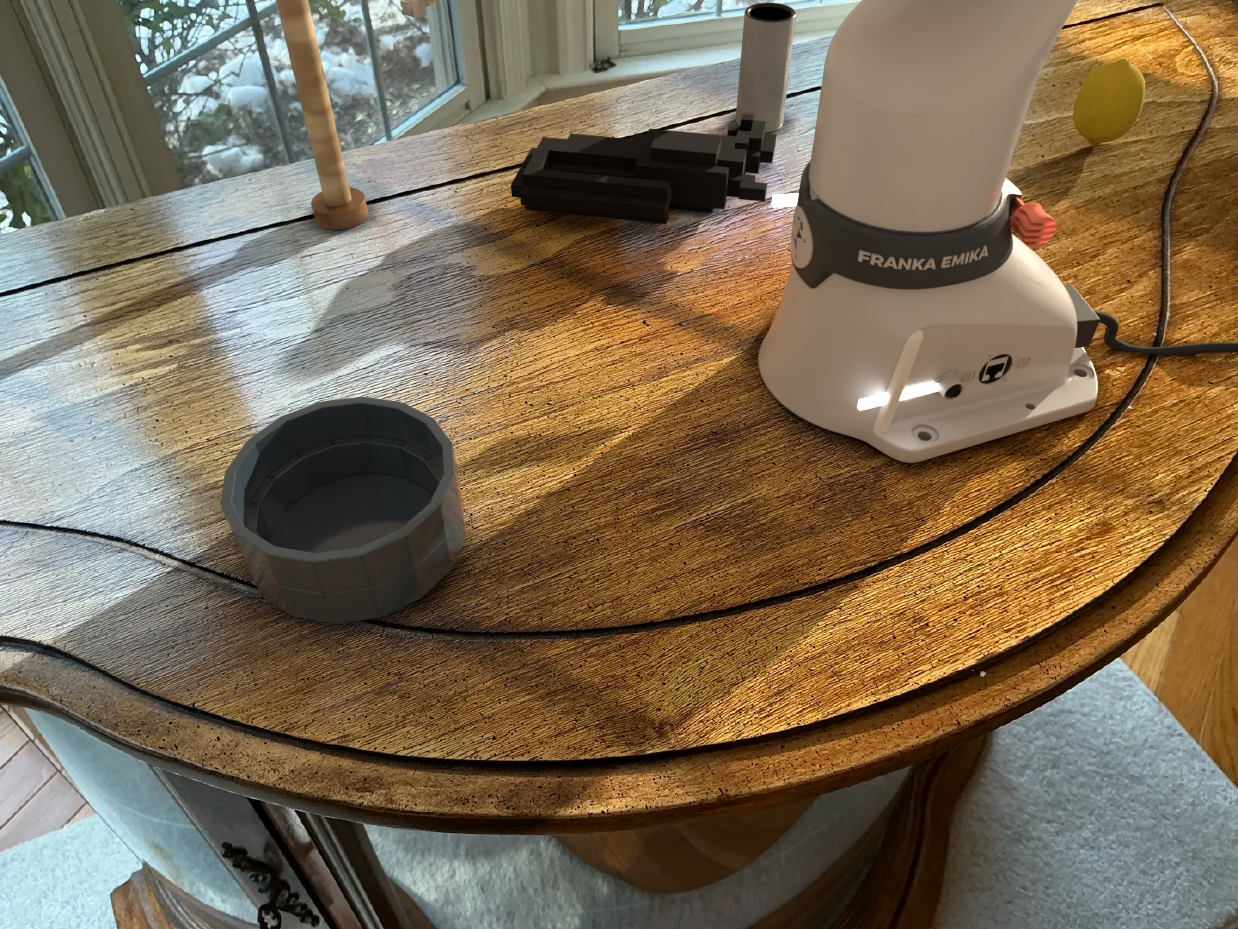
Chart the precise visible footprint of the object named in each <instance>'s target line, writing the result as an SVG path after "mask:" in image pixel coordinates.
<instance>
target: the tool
mask: <svg viewBox="0 0 1238 929" xmlns="http://www.w3.org/2000/svg"><path fill="white" fill-rule="evenodd" d="M754 116H755V115H751V114H742V117H741V125H737V124H728V126H727V127H728V128H727V133H726V134H727V135H725V134H714V133H703V132H693V131H692V132H691V131H682V130H671V129H670V130H669V129H660V128H659V129H658V128H649V129H648V131H647V133H638V132H637V133H636V132H634V134H633V136H632V138H626V137H614V136H603V135H593V134H583V133H572V132H571V133H570V134H569V135H568V137H567V138H558V137H549V136H542V137H541V139H540V141H539V143H538V145H537V147H530V150H529V151H528V153H527V155H526V156H525V158H524V160H523V162H522V164H521V165H520V167H519V169H518V170H517V173H516V174H515V176H514V178H513V180H512V182H511V184H510V193H511V198H517V199H519V198H520V200H519V201H520V206H524V209H525V211H533V212H542V213H550V214H551V213H552V214H560V215H571V216H580V217H589V218H598V219H609V220H610V219H611V220H617V221H619V220H620V221H627V222H637V223H646V224H647V223H648V224H657V225H664V226H666V225H667V224H668V221H669V218H670V210H680V211H689V212H698V213H699V212H701V213H708V214H713V212H714V210H725V209H726V204H727V197H731V198H737V199H738V200H744V201H754V202H763V203H764V202H766V197H767V190H768V183H767V182H759V181H756V176H757V175H754V174H758V175H759V174H760V173H759V172H760V168H761V164H762V163H763V164H773V161H774V156H775V151H776V144H777V136H778V134H777V133H769V132H767V133H765V129H766V127H765V123H766V121H755V120H754Z"/></svg>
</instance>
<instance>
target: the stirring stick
mask: <svg viewBox="0 0 1238 929" xmlns="http://www.w3.org/2000/svg"><path fill="white" fill-rule="evenodd" d="M275 3H276V7H277V11H278V12H277V13H278V15H279V19H280V24H281V28H282V32H283V36H284V41H285V44H286V48H287V53H288V56H289V57H288V58H289V61H290V65H291V69H292V73H293V77H294V81H295V85H296V90H297V95H298V98H299V102H300V107H301V110H302V115H303V118H304V123H305V127H306V131H307V134H308V135H307V136H308V139H309V143H310V148H311V151H312V152H311V153H312V156H313V159H314V164H315V169H316V172H317V177H318V180H319V186H320V190H321V191H320V192H318V193H317V194H316V195H314V196H313V198H312V199H311V202H310V205H311V209H312V213H313V217H314V221H315V224H317V226H319V227H321V228H323V229H326V230H333V231H340V230H347V229H351V228H354V227H357V226H358V225H361V224H362V223H364V221H366V219H367V218H368V216H369V209H368V204H367V198H366V196H365V193H364V192H363V191H362V190H361V189H359V188H356V187H353V186H352V187H351V186H350V184H349V180H348V176H347V171H346V166H345V162H344V158H343V153H342V148H341V144H340V140H339V135H338V130H337V126H336V121H335V116H334V112H333V107H332V104H331V103H332V102H331V98H330V93H329V89H328V85H327V84H328V83H327V81H326V75H325V71H324V67H323V62H322V57H321V52H320V48H319V44H318V39H317V34H316V30H315V26H314V22H313V16H312V12H311V7H310V2H309V0H275Z"/></svg>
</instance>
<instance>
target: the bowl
mask: <svg viewBox="0 0 1238 929" xmlns="http://www.w3.org/2000/svg"><path fill="white" fill-rule="evenodd" d="M220 507H221V509H222V512H223V514H224V516H225V519H226V521H227V524H228V525H229V528H230V530H231V533H232V534H233V537H234V539H235V542H236V544H237V546H238V549H239V551H240V553H241V555H242V558H243V561H244V563H245V566H246V567H247V569H248V571H249V573H250V576H251V578H252V579H253V583H254V584H255V587H256V589H257V590H258V594H259V595H261V597H263V598H265V599H266V600H267V601H268V602H270V603H271V604H273V605H274V606H276V607H277V608H279V609H280V610H282V611H283V612H285V613H286V614H287V615H289V616H292V617H295V618H300V619H306V620H310V621H311V620H312V621H315V622H321V623H322V622H323V623H327V624H334V625H338V624H344V623H355V622H363V621H368V620H372V619H373V620H374V619H379V618H382V617H384V616H386V615H389V614H391V613H394V612H396V611H399V610H401V609H403V608H404V607H406V606H408V605H410V604H412V603H414V602H416V601H418V600H420V599H422V598H423V597H424V596H426V594H427V593H428V592H429V591H430V590H432V589H433V588H434V586H436V585H437V584H438V583H439V582H440V581H441V580H442V579H443V578H445V576H446V575H448V573H449V572H451V570H452V569H453V567H454V565H455V562H456V560H457V558H458V556H459V553H460V551H461V548H462V546H463V544H464V542H465V540H466V538H467V537H466V536H467V533H466V522H465V521H466V520H465V509H464V502H463V496H462V490H461V485H460V479H459V473H458V467H457V461H456V456H455V450H454V444H453V442H452V441H451V439H450V438H449V437H448V435H447V434H446V432H445V431H444V430H443V429H442V427H441V426H440V424H439V423H438V422H437V421H436V419H435V418H434V417H433V416H430V415H428V414H426V413H424V412H423V411H421V410H419V409H416V408H414V407H413V406H411V405H409V404H407V403H405V402H401V401H396V400H389V399H383V398H377V397H370V396H357V397H348V398H347V397H346V398H339V399H329V400H322V401H319V402H316V403H313V404H310V405H308V406H305V407H302V408H300V409H297V410H293V411H292V412H288V413H286V414H284V415H283V414H282V415H281V416H279V417H277V418H276V419H275V420H274V421H272V422H271V423H270V424H268V425H267V426H265V427H264V428H262V429H261V430H260V431H258V432H256V433H255V434H253V435H252V436H251V437H250V438H248V439H247V440H246V441H245V443H244V444H243V445H242V447H241V448H240V450H239V451H238V453H237V454H236V455H235V457H234V458H233V459H232V461H231V462H230V464H229V465H228V467H227V468H226V469H225V470H224V476H223V483H222V490H221V496H220Z"/></svg>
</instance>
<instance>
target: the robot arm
mask: <svg viewBox="0 0 1238 929" xmlns="http://www.w3.org/2000/svg"><path fill="white" fill-rule="evenodd" d="M438 1H440V0H399V3H400V7H401V14H402V15H403V16H407V17H411V18H412V17H413V18H415V19H419V20H420V19H422V17H423V15H424V13H425V11H426V9H427V7H430V6H431V5H433V4H436V3H437V2H438ZM1078 1H1079V0H860V1H859V2H858V3H857V4H856V5H855V6H854V8H853V9H852V10H851V11H850V12H849V13H848V14H847V15H846V17H844V20H842V22H841V24H840V25H839V26H838V28H837V29H836V31H835V33H834V35H833V37H832V38H831V41H830V44H829V46H828V49H827V53H826V56H825V58H824V59H825V60H824V65H823V72H822V79H821V85H820V86H821V87H820V94H819V101H818V108H817V114H816V120H815V122H816V123H815V129H814V135H813V141H812V142H813V143H812V150H811V156H810V160H809V161H808V162H807V163H806V165H805V167H804V168H803V170H802V173H801V178H800V183H799V190H798V193H785V194H782V193H781V194H772V199H771V207H772V208H784V207H794V211H793V216H792V225H791V234H790V258H791V259H790V260H791V265H790V270H789V274H788V276H787V281H786V284H785V287H784V289H783V290H784V291H783V294H782V297H781V299H780V302H779V306H778V308H777V310H776V314H775V316H774V318H773V321H772V323H771V324H770V327H769V329H768V331H767V333H766V334H765V337H764V339H763V340H762V342H761V344H760V347H759V351H758V356H757V357H758V358H757V361H758V371H759V373H760V376H761V378H762V381H763V383H764V385H765V387H766V388H767V390H769V392H770V393H771V395H772V396H773V397H774V398H775V399H776V400H777V401H778V402H779V403H780V404H782V406H784V407H785V408H786V409H787V410H789V411H790V412H792V414H795V416H798V417H799V418H801V419H803V420H805V421H806V422H809V423H810V424H812V425H815V426H817V427H819V428H822V429H825V430H827V431H830V432H834V433H837V434H841V435H844V436H848V437H850V438H854V439H856V440H857V439H858V440H860V441H862V442H865V443H867V444H869V445H870V446H872V447H873V448H875V449H876V450H878V451H880V452H881V453H883V454H884V455H886V456H888V457H890V458H892V459H893V460H896V461H898V462H901V463H907V464H916V463H919V462H924V461H927V460H930V459H934V458H937V457H940V456H944V455H946V454H947V455H948V454H950V453H954V452H957V451H960V450H964V449H967V448H970V447H974V446H977V445H980V444H984V443H987V442H990V441H995V440H997V439H1001V438H1004V437H1007V436H1011V435H1014V434H1017V433H1021V432H1024V431H1027V430H1030V429H1034V428H1038V427H1041V426H1043V425H1044V426H1045V425H1047V424H1050V423H1054V422H1058V421H1061V420H1064V419H1067V418H1071V417H1075V416H1077V415H1080V414H1083V413H1084V414H1085V413H1086V412H1089V411H1092V410H1093V409H1094V407H1095V404H1096V402H1097V397H1098V394H1099V393H1098V392H1099V382H1098V381H1099V380H1098V375H1097V373H1096V370H1095V367H1094V364H1093V361H1092V360H1091V358H1090V357H1089V355H1088V352H1086V350H1085V348H1089V347H1090V345H1091V344H1092V341H1093V338H1094V336H1095V334H1096V331H1097V329H1098V327H1099V324H1102V325H1104V326H1105V327H1106V329H1105V331H1104V335H1103V341H1104V343H1105V345H1106V346H1107V347H1108V348H1110V349H1112V350H1114V351H1115V352H1119V353H1126V354H1128V353H1129V354H1133V353H1134V354H1149V355H1162V356H1182V357H1183V356H1192V355H1202V354H1203V355H1204V354H1219V353H1221V354H1222V353H1223V354H1224V353H1227V354H1228V353H1229V354H1230V353H1237V354H1238V341H1215V342H1201V343H1189V344H1181V345H1170V346H1169V345H1167V346H1153V347H1151V346H1138V345H1133V344H1129V343H1127V342H1124V341H1122V340H1120V339H1119V338H1118V337H1117V334H1118V332H1119V329H1120V325H1119V324H1120V323H1119V322H1118V320H1117V319H1116V318H1115V316H1113V315H1111V314H1110V313H1106V312H1103V311H1099V310H1093V308H1092V307H1091V306H1090V305H1089V303H1088V302H1087V301H1086V300H1085V299H1084V297H1083V296H1082V295H1081V294H1080V292H1079V291H1078V289H1077V288H1076V287H1075V286H1074V285H1073V284H1064V283H1063V282H1062V280H1061V279H1060V278H1059V276H1058V275H1057V274H1056V273H1055V272H1054V270H1053V269H1052V268H1051V267H1050V266H1049V265H1048V263H1047V262H1046V261H1045V260H1044V259H1042V258H1041V257H1040V256H1039V255H1038V254H1037V253H1036V252H1035V251H1034V250H1033V249H1034V248H1039V247H1042V246H1044V245H1046V244H1047V243H1048V240H1052V239H1053V238H1054V234H1055V233H1056V232H1057V227H1058V224H1057V222H1056V220H1055V219H1054V217H1052V216H1051V215H1050V214H1049V213H1047V212H1045V209H1044V207H1043V205H1042V204H1040V203H1039V202H1027V203H1024V201H1023V200H1022V197H1023V193H1022V192H1021V190H1020V189H1019V188H1018V187H1017V186H1016V185H1015V184H1014V183H1013V182H1012V181H1011V180H1010V179H1009V178H1007V175H1008V172H1009V169H1010V165H1011V162H1012V160H1013V156H1014V152H1015V149H1016V146H1017V143H1018V139H1019V137H1020V134H1021V131H1022V128H1023V125H1024V122H1025V119H1026V115H1027V113H1028V109H1029V107H1030V103H1031V100H1032V98H1033V94H1034V91H1035V89H1036V86H1037V84H1038V81H1039V78H1040V76H1041V73H1042V71H1043V68H1044V66H1045V64H1046V62H1047V59H1048V57H1049V55H1050V53H1051V51H1052V49H1053V47H1054V44H1055V42H1056V41H1057V39H1058V37H1059V36H1060V33H1061V31H1062V30H1063V28H1064V26H1065V24H1066V22H1067V20H1068V19H1069V16H1070V15H1071V13H1072V11H1073V10H1074V8H1075V6H1076V4H1077V3H1078ZM1013 232H1015V233H1017V234H1018V236H1019V238H1020V239H1019V238H1018V237H1017V236H1016V235H1014V234H1013ZM1031 248H1033V249H1031Z"/></svg>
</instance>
